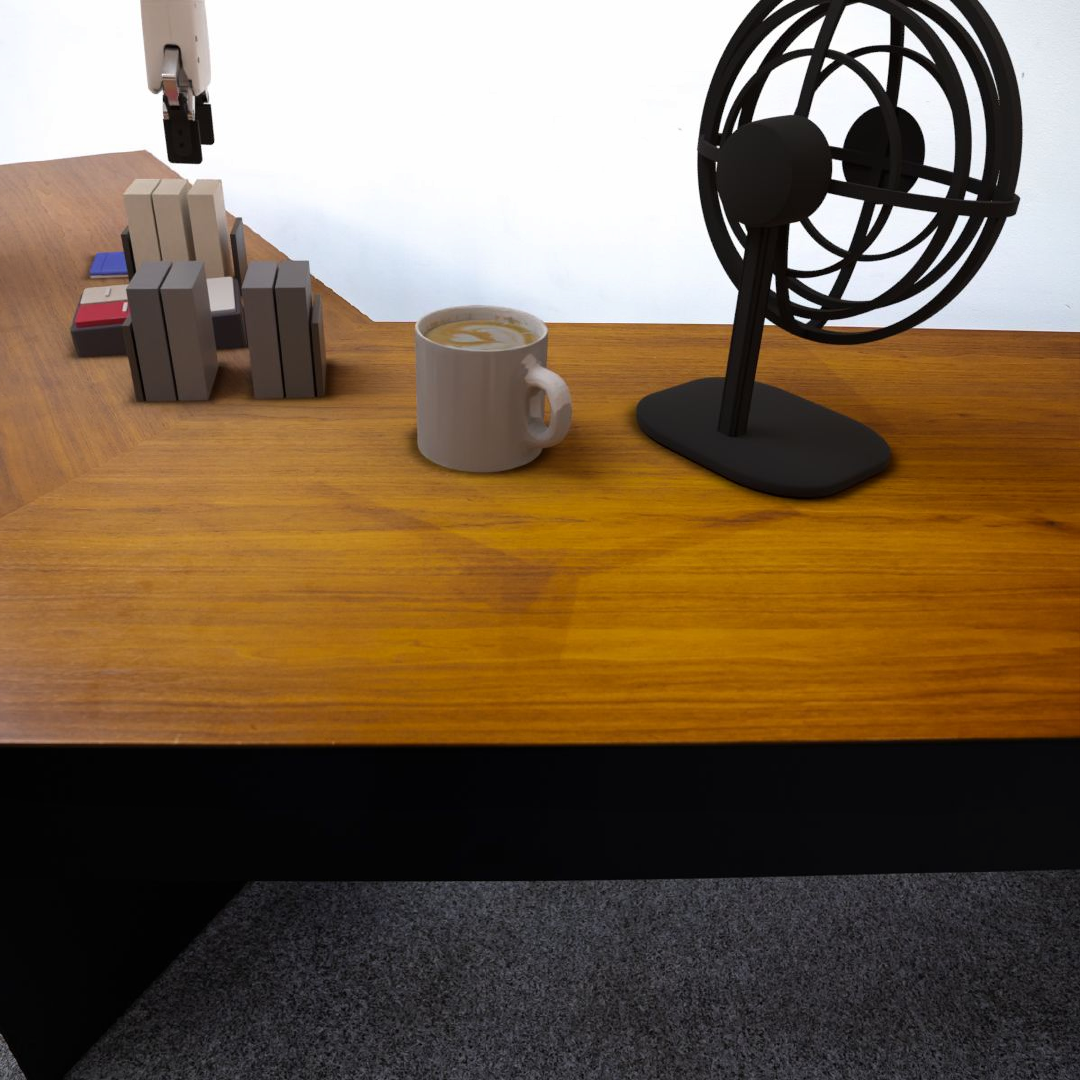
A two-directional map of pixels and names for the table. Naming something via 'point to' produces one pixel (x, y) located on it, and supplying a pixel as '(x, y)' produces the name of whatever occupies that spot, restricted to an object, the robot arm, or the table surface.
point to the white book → (210, 227)
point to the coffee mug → (486, 388)
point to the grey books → (188, 337)
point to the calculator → (109, 309)
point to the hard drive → (109, 265)
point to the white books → (167, 226)
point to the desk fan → (795, 194)
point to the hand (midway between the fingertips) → (192, 153)
